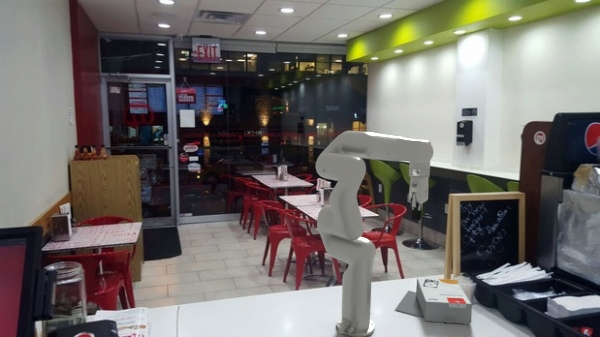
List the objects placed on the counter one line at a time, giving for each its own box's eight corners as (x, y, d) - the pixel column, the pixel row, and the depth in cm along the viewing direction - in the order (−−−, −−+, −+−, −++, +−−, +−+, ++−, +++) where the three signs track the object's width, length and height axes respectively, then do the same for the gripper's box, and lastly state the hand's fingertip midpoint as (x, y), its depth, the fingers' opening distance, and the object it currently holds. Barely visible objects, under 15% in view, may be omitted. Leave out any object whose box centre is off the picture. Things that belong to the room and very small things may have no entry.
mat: (446, 324, 138) (446, 323, 138) (394, 310, 147) (394, 309, 147) (455, 302, 154) (455, 301, 154) (408, 291, 162) (408, 290, 162)
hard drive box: (457, 278, 156) (473, 303, 136) (456, 297, 157) (472, 324, 137) (416, 277, 157) (426, 301, 138) (415, 295, 159) (425, 322, 139)
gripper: (423, 176, 144) (420, 225, 147) (434, 171, 156) (431, 216, 159) (403, 174, 148) (400, 222, 151) (415, 169, 160) (412, 214, 163)
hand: (416, 219), depth 155 cm, fingers closed
